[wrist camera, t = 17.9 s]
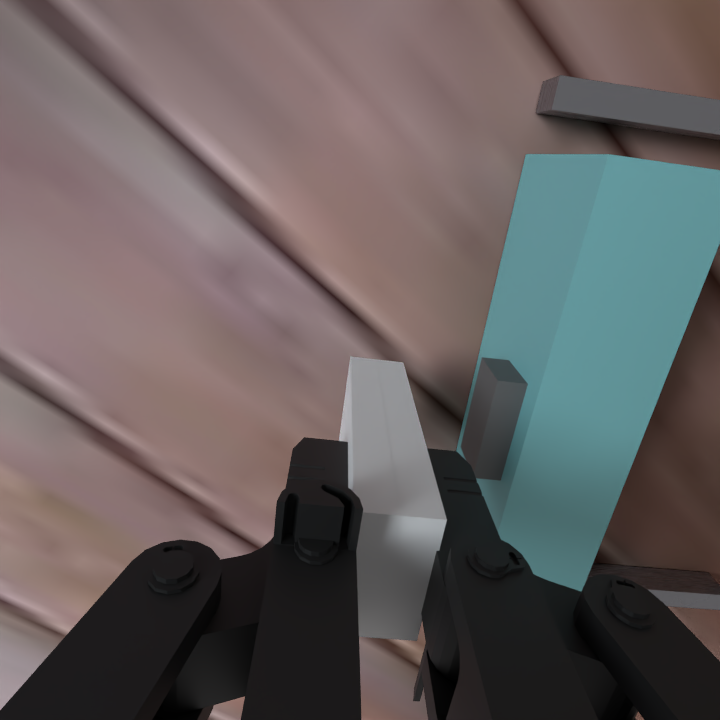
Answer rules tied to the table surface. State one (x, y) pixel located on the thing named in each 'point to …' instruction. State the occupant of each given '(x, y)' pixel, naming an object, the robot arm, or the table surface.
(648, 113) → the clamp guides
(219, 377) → the table surface
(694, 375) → the table surface
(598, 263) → the bar
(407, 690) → the table surface
